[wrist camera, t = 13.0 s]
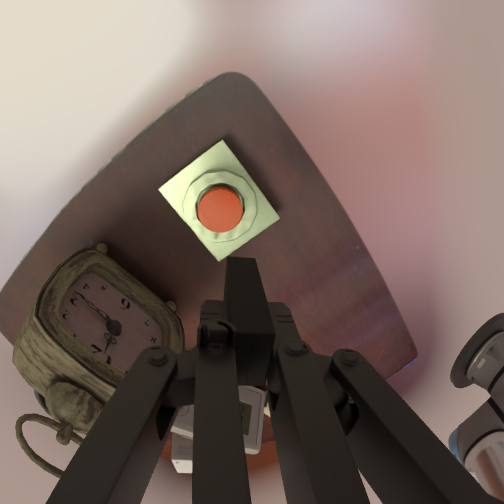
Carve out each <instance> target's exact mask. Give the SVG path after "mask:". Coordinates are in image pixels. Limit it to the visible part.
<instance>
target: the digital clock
mask: <svg viewBox="0 0 504 504" xmlns="http://www.w3.org/2000/svg"><path fill="white" fill-rule="evenodd" d="M238 389H239V399H240V409H241V419H242V428H243V437H244V446H245V453H248V454H257V453H258V452H259V450H260V445H261V437H262V427H263V417H264V402H265V393H264V391H262V390H261V389H258V388H256V387H253V386H238ZM193 419H194V404H193V405H188V406H183V407H180V409H179V412H178V414H177V416H176V419H175V421H174V424H173V426H172V428H171V432H174V433H177V434H180V435H181V436H182V437H185V438H188V439H191V440H193Z"/></svg>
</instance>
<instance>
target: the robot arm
mask: <svg viewBox="0 0 504 504" xmlns="http://www.w3.org/2000/svg"><path fill="white" fill-rule="evenodd" d="M465 375H466V377H467V378H468V379H469V380H470V381H471V382H473V383H475V384H477V385H478V386H480V387H482V388H484V389H486V390H487V391H488V393H489V394H490V395H491V397H490V398H489V399H488V400H487V401H486V402H485V403H484V404H483V405H482V406H481V407H480V408H479V409H477V410H476V411H475V413H473V414H472V415H471V416H470V417H469V418H467V419H466V420H465V421H464V422H463V423H461V424H460V425H459V426H458V428H457V429H455V430H454V431H453V432H452V433H451V435H450V437H449V448H450V451H449V449H448V448H447V447H446V446H445V445H444V444H443V443H442V442H441V441H440V440H439V439H438V437H437V436H436V435H435V434H434V433H433V432H432V431H431V430H430V429H429V427H428V426H427V425H426V424H425V423H424V422H423V421H422V420H421V419H420V418H419V416H418V415H417V414H416V413H415V412H414V411H413V410H412V409H411V408H410V407H409V406H408V404H407V403H406V402H405V401H404V400H403V399H402V398H401V397H400V396H399V395H398V394H397V392H396V391H395V390H394V389H393V388H392V387H391V386H390V385H389V384H388V383H387V382H386V380H385V379H384V378H383V377H382V376H381V375H380V374H379V373H378V372H377V371H376V370H375V369H374V367H373V366H372V365H371V364H370V363H369V362H368V361H367V360H366V359H365V358H364V357H363V356H362V355H361V354H360V353H359V352H357V351H354V350H352V349H339V350H337V351H335V353H334V354H333V356H332V357H330V356H324V355H319V354H316V353H314V352H313V351H312V349H311V347H310V346H309V345H308V344H307V343H305V342H304V341H301V338H300V336H299V333H298V330H297V328H296V325H295V323H294V320H293V317H292V314H291V312H290V309H289V308H288V307H287V306H286V305H285V304H284V303H277V302H267V300H266V296H265V292H264V289H263V285H262V281H261V278H260V274H259V271H258V267H257V263H256V260H255V258H243V257H228V256H227V266H226V277H225V289H224V301H219V300H206V301H205V302H204V303H203V304H202V305H201V314H200V324H199V327H198V332H197V345H196V346H195V347H194V348H193V349H192V350H190V351H188V352H184V353H179V354H175V352H174V351H173V350H172V349H170V348H168V347H165V346H158V345H157V346H150V347H148V348H145V349H144V350H143V351H142V352H141V353H140V354H139V355H138V357H137V358H136V360H135V361H134V363H133V364H132V366H131V367H130V369H129V370H128V372H127V373H126V375H125V376H124V378H123V379H122V381H121V382H120V384H119V385H118V387H117V389H116V390H115V392H114V393H113V395H112V396H111V398H110V399H109V401H108V402H107V404H106V405H105V407H104V409H103V410H102V412H101V413H100V415H99V416H98V418H97V419H96V421H95V423H94V424H93V426H92V427H91V429H90V431H89V432H88V434H87V436H86V437H85V439H84V440H83V442H82V443H81V445H80V447H79V448H78V450H77V451H76V453H75V455H74V456H73V458H72V460H71V461H70V463H69V465H68V466H67V468H66V470H65V471H64V473H63V475H62V476H61V478H60V480H59V481H58V483H57V485H56V486H55V488H54V490H53V492H52V493H51V495H50V497H49V499H48V500H47V502H46V504H140V503H141V500H142V498H143V496H144V493H145V490H146V488H147V486H148V483H149V481H150V479H151V476H152V474H153V471H154V469H155V467H156V464H157V462H158V459H159V457H160V455H161V452H162V450H163V447H164V445H165V443H166V440H167V438H168V436H169V433H170V431H171V428H172V426H173V424H174V421H175V419H176V416H177V414H178V412H179V409H180V407H183V406H188V405H193V404H194V419H193V456H192V504H251V496H250V488H249V480H248V472H247V463H246V456H245V446H244V437H243V428H242V419H241V409H240V399H239V389H238V386H265V383H266V378H267V381H268V389H267V393H266V397H265V402H264V407H267V403H268V406H269V411H270V417H271V422H272V427H273V433H274V438H275V443H276V449H277V454H278V459H279V464H280V470H281V475H282V480H283V485H284V490H285V495H286V501H287V504H370V501H369V499H368V496H367V493H366V490H365V487H364V485H363V482H362V479H361V477H360V474H359V471H360V472H361V474H362V475H363V477H364V478H365V479H366V481H367V482H368V484H369V485H370V486H371V488H372V489H373V491H374V492H375V493H376V495H377V496H378V498H379V499H380V500H381V502H382V503H383V504H504V330H498V331H496V332H494V333H493V334H492V335H490V336H489V337H488V338H487V339H486V340H485V341H484V342H483V343H482V344H481V345H480V346H479V348H478V349H477V350H476V351H475V353H474V354H473V356H472V357H471V359H470V361H469V362H468V365H467V367H466V370H465ZM350 397H351V399H352V400H353V401H354V402H353V401H352V400H351V399H350ZM358 469H359V471H358ZM467 470H468V471H469V472H475V473H476V476H477V478H478V481H479V483H480V484H479V483H478V482H477V481H476V480H475V479H474V477H473V476H472V475H471V474H470V473H469V472H468V471H467Z"/></svg>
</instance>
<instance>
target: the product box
mask: <svg viewBox="0 0 504 504" xmlns="http://www.w3.org/2000/svg"><path fill="white" fill-rule="evenodd" d="M192 456H193V440H191V439H188V438H185V437H182V436H181V435H180V434H177V433H174V432H173V439H172V457H171V460H172V462H173V464H174V466H175V468H176V470H177V472H178V473H192Z"/></svg>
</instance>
